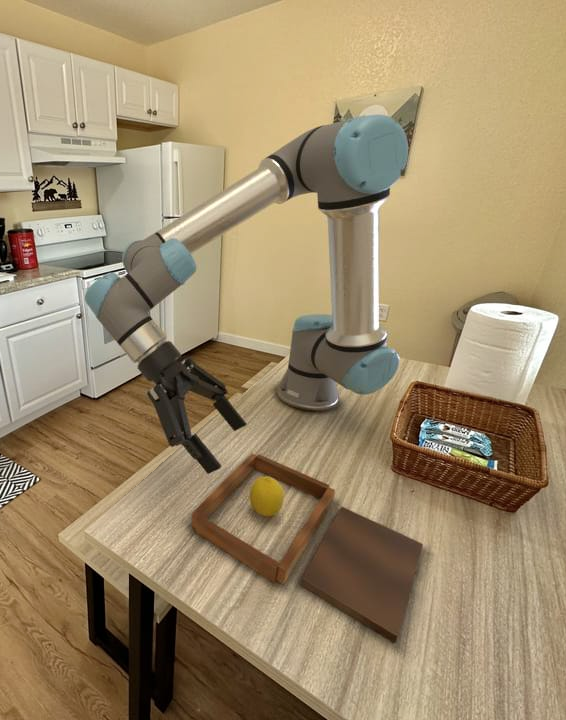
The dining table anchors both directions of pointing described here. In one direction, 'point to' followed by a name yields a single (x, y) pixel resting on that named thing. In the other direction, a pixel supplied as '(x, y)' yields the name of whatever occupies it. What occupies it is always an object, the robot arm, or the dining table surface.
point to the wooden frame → (244, 550)
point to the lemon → (266, 496)
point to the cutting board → (365, 571)
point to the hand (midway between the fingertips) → (228, 447)
